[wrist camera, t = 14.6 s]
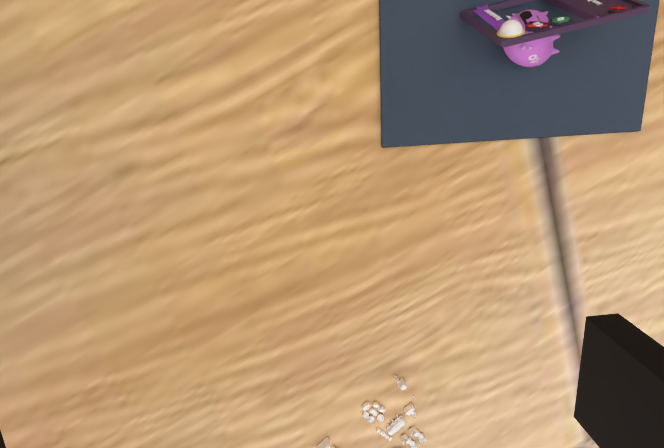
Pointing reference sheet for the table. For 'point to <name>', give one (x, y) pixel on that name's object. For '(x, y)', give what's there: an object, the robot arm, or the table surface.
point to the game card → (545, 24)
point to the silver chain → (396, 424)
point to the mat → (506, 76)
